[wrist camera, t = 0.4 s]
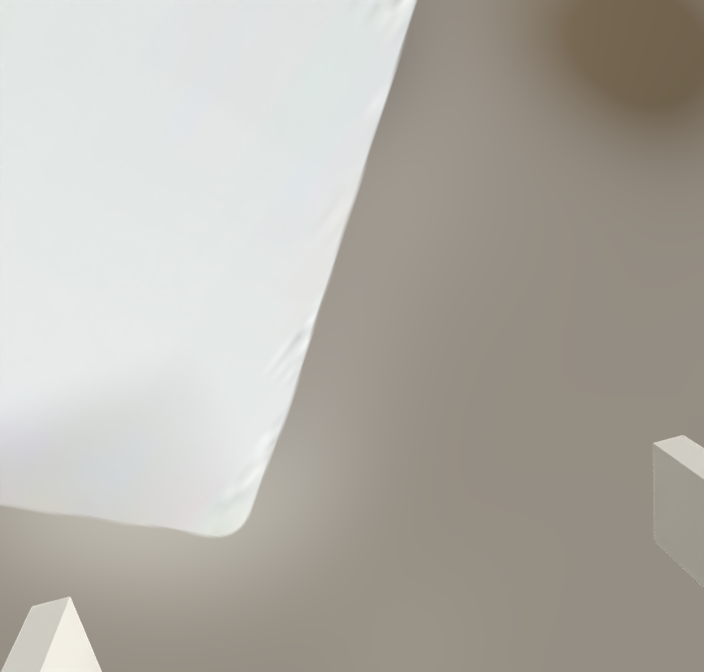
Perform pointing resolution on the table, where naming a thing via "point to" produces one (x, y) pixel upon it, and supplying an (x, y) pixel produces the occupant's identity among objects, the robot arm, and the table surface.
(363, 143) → the table surface
